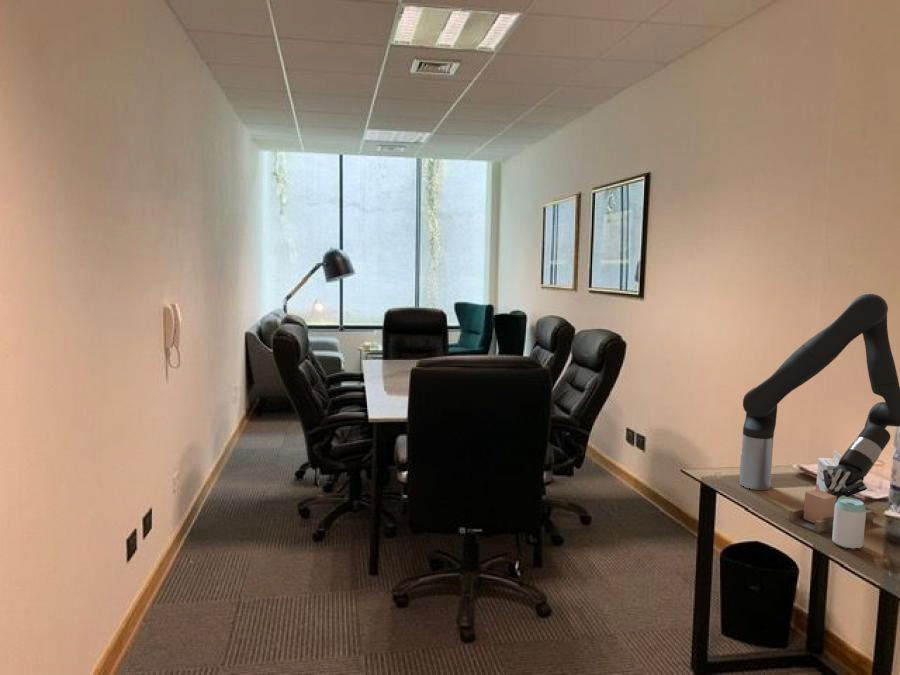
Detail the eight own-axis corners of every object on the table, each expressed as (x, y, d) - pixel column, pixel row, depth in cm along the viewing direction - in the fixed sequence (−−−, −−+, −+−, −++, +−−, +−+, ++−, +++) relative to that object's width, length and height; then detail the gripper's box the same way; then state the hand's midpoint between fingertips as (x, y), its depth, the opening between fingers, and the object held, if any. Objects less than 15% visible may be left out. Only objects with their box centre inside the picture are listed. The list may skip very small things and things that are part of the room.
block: (815, 516, 190) (817, 489, 190) (834, 523, 185) (836, 496, 184) (803, 518, 189) (805, 491, 188) (822, 526, 183) (824, 498, 182)
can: (869, 549, 171) (873, 505, 169) (845, 551, 170) (848, 506, 168) (849, 538, 178) (852, 495, 176) (825, 539, 177) (829, 496, 175)
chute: (842, 510, 197) (843, 500, 197) (872, 522, 189) (873, 511, 188) (788, 521, 189) (789, 510, 189) (818, 533, 180) (819, 522, 180)
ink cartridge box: (814, 492, 213) (818, 448, 211) (831, 493, 212) (834, 449, 210) (824, 501, 204) (827, 456, 203) (841, 503, 203) (845, 457, 202)
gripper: (833, 442, 195) (801, 487, 192) (877, 455, 183) (843, 503, 180) (844, 458, 198) (812, 502, 195) (888, 471, 186) (855, 519, 183)
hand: (827, 503), depth 187 cm, fingers closed
